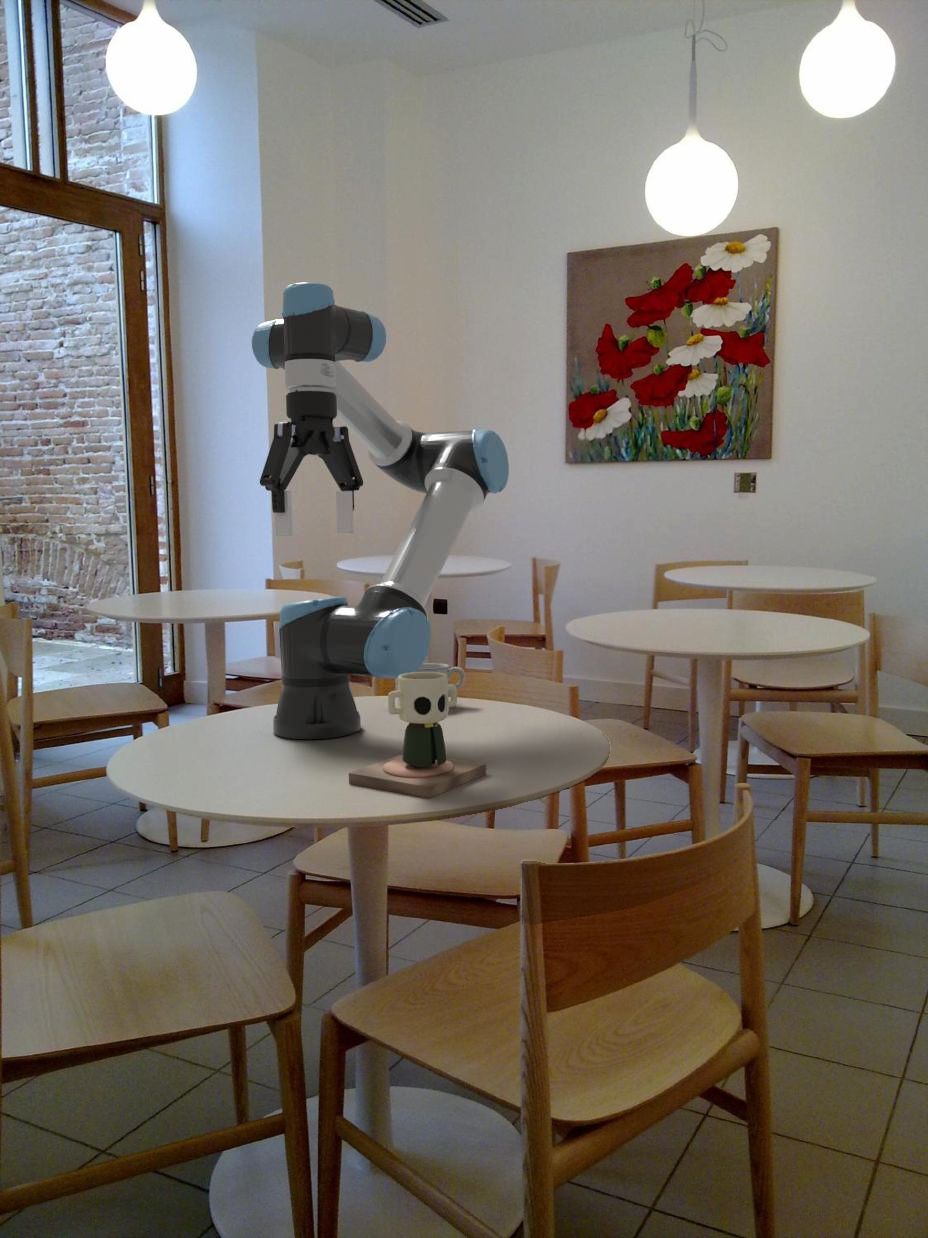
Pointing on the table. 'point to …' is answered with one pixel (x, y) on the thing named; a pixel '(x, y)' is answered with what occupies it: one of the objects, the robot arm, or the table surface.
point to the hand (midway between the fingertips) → (315, 534)
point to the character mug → (423, 715)
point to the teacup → (441, 669)
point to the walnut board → (417, 776)
